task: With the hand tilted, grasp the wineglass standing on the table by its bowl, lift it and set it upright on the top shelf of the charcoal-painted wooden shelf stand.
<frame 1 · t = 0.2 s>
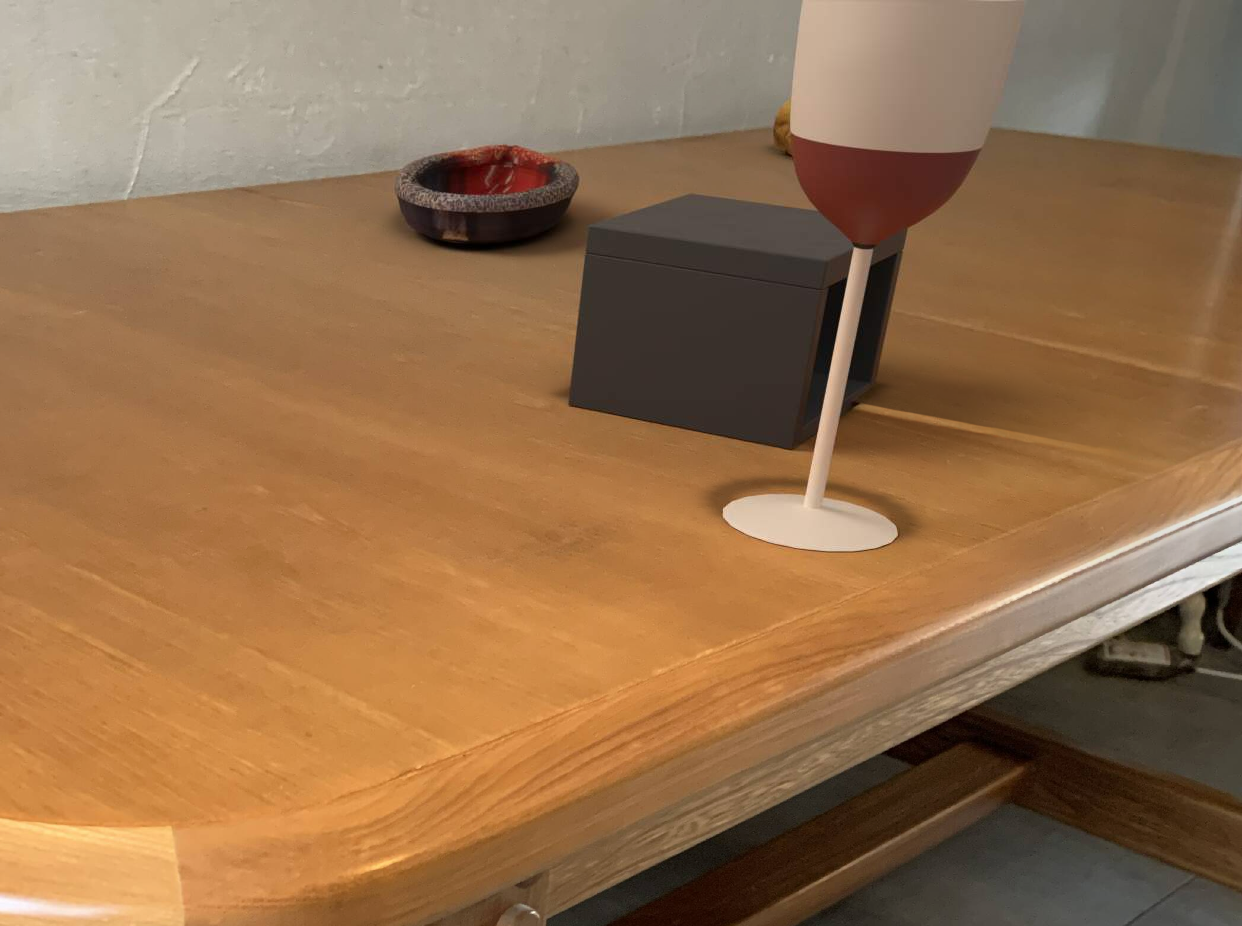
shelf: (724, 400, 103), on the table
wineglass: (808, 525, 84), on the table
dish: (485, 225, 149), on the table
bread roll: (808, 157, 194), on the table
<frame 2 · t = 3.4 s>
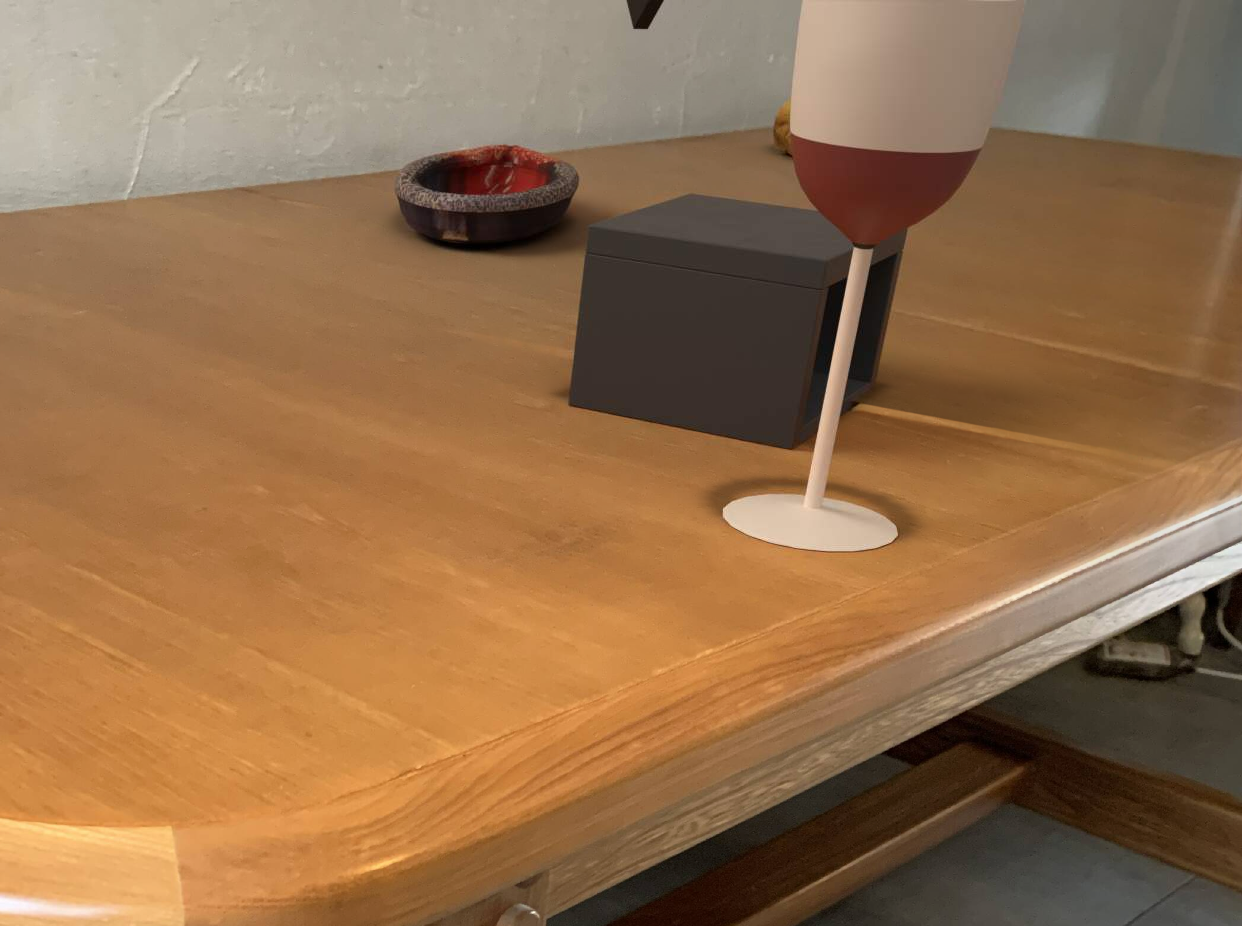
hand: (780, 12, 80), 21 cm above the table, tool tilted 45°, fingers open, 13 cm apart
nothing on the table moved.
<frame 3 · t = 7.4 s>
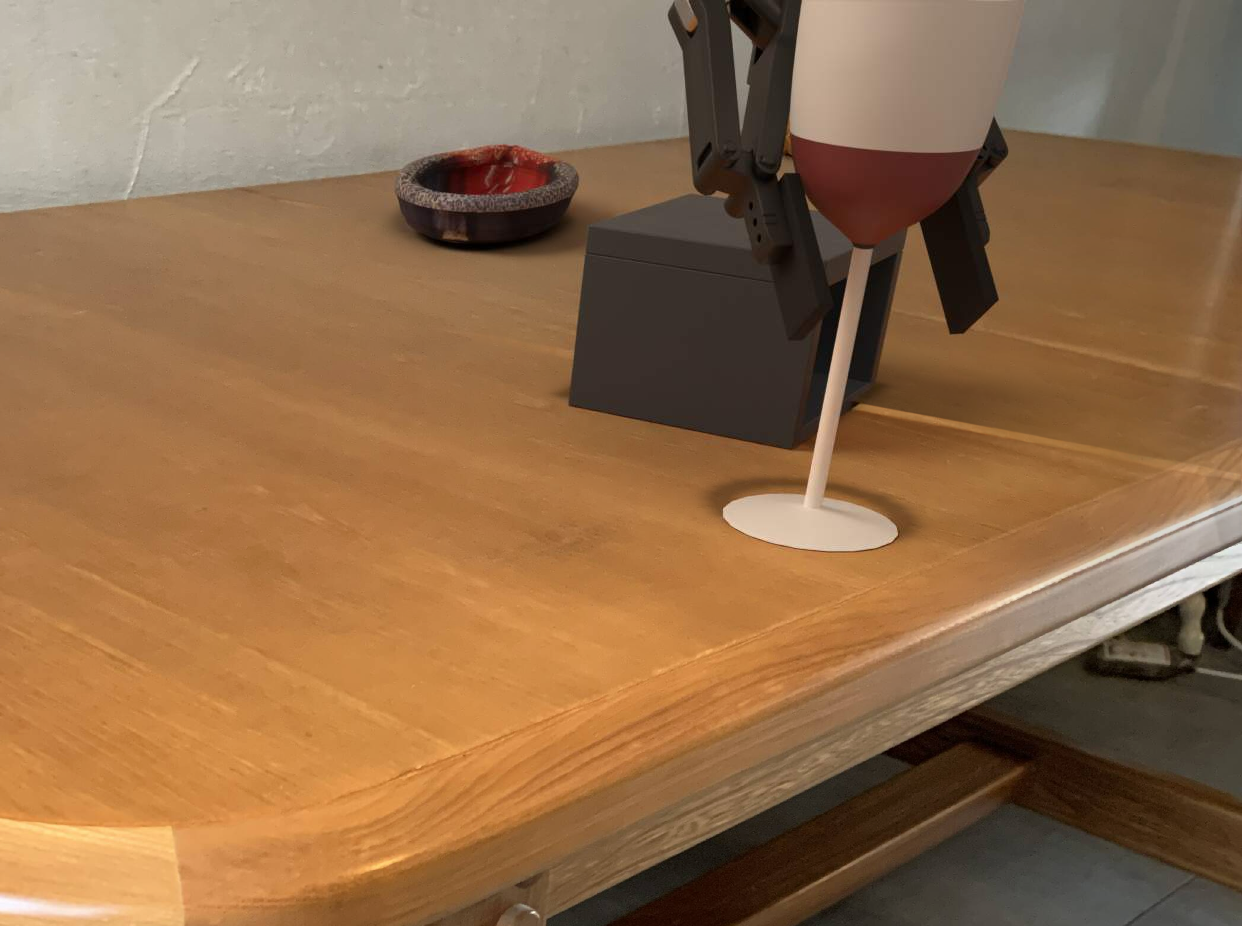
hand: (893, 319, 76), 10 cm above the table, tool tilted 45°, fingers closed on wineglass, 8 cm apart
wineglass: (808, 525, 84), on the table, touching gripper
everything else where it was.
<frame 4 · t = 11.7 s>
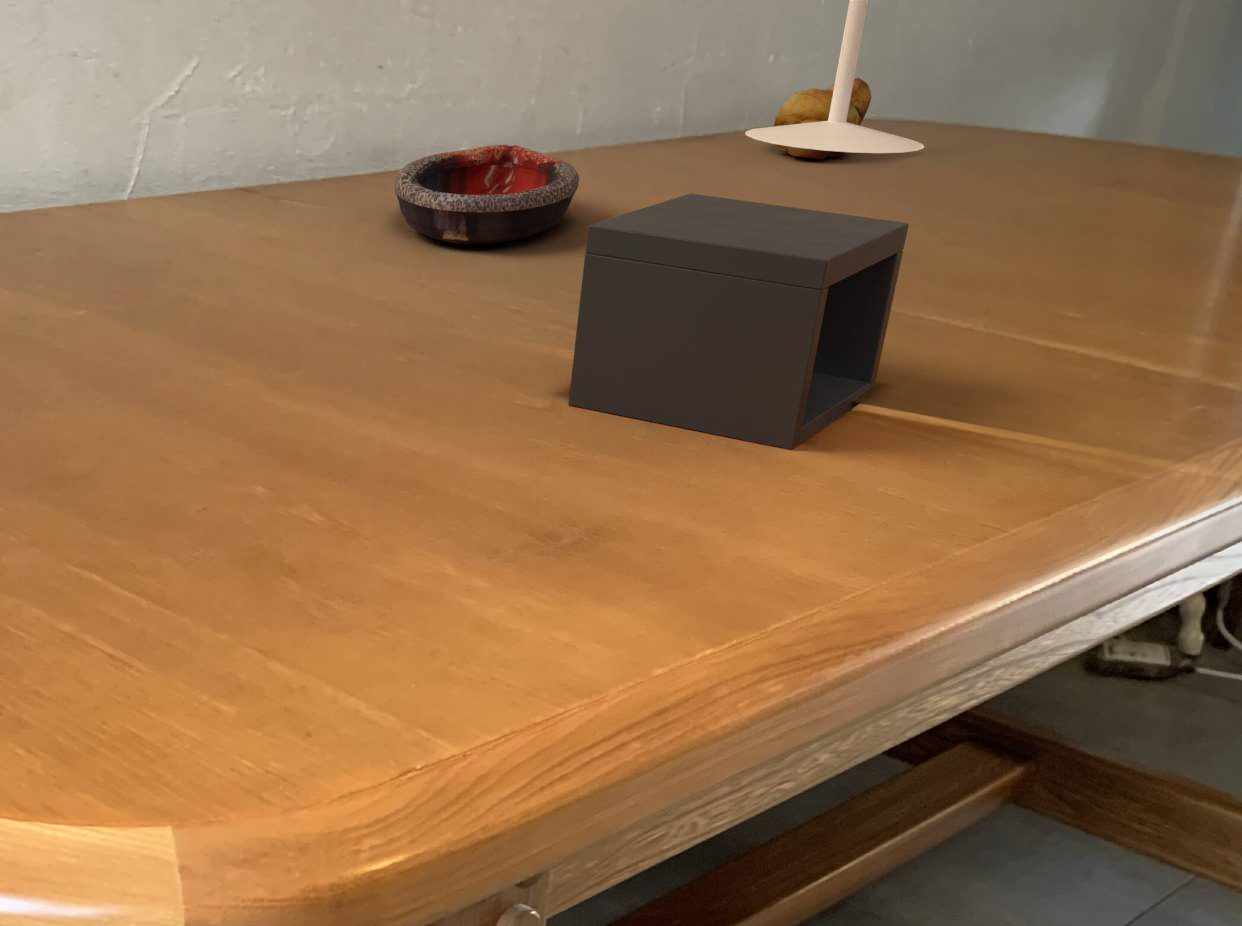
wineglass: (832, 144, 83), point 16 cm above the table, touching gripper
everything else where it was.
when the fingers open (20 cm above the table, at t = 16.0 s): wineglass stays where it is, resting on shelf.
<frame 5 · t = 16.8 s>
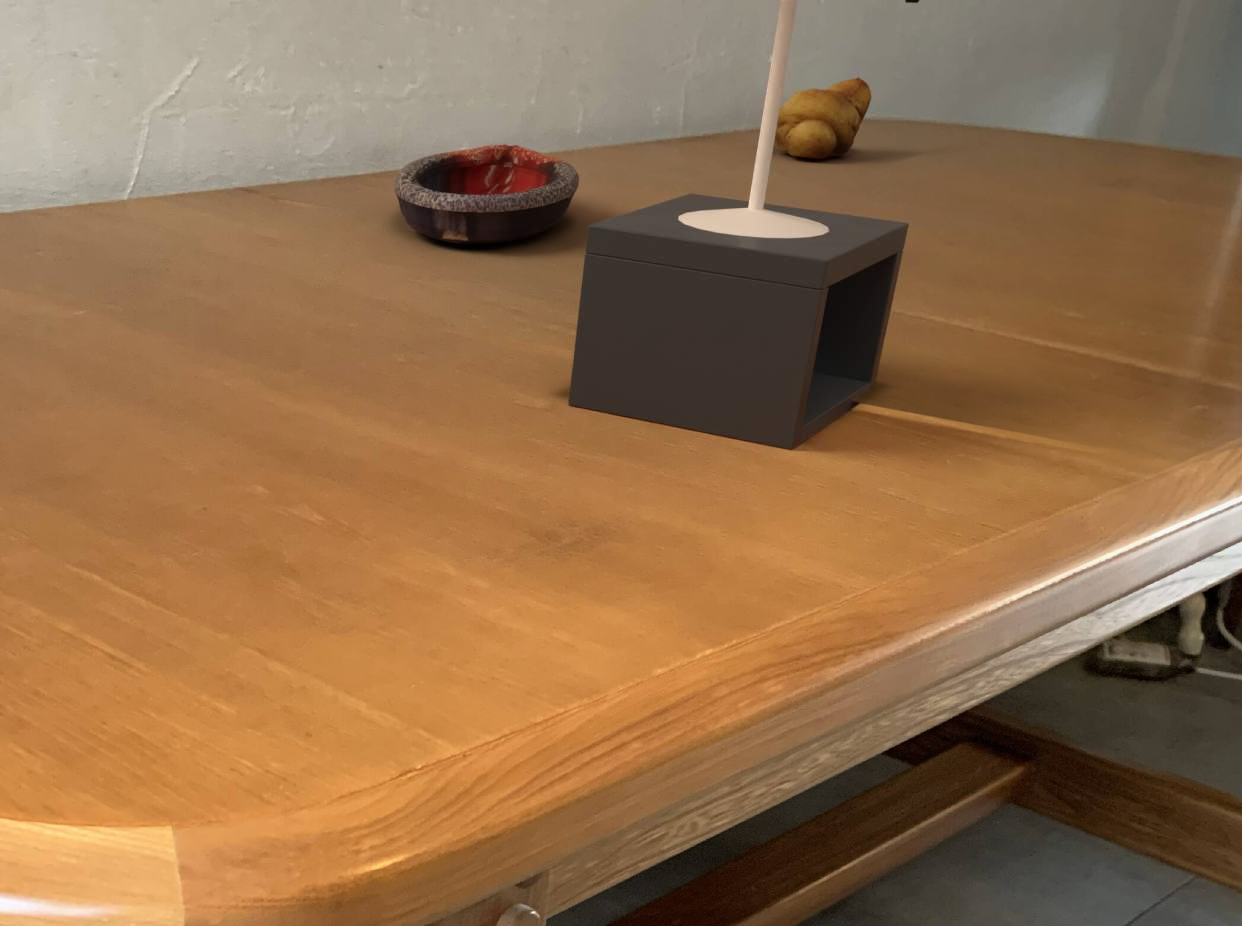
wineglass: (752, 227, 97), point 10 cm above the table, touching shelf
everything else where it was.
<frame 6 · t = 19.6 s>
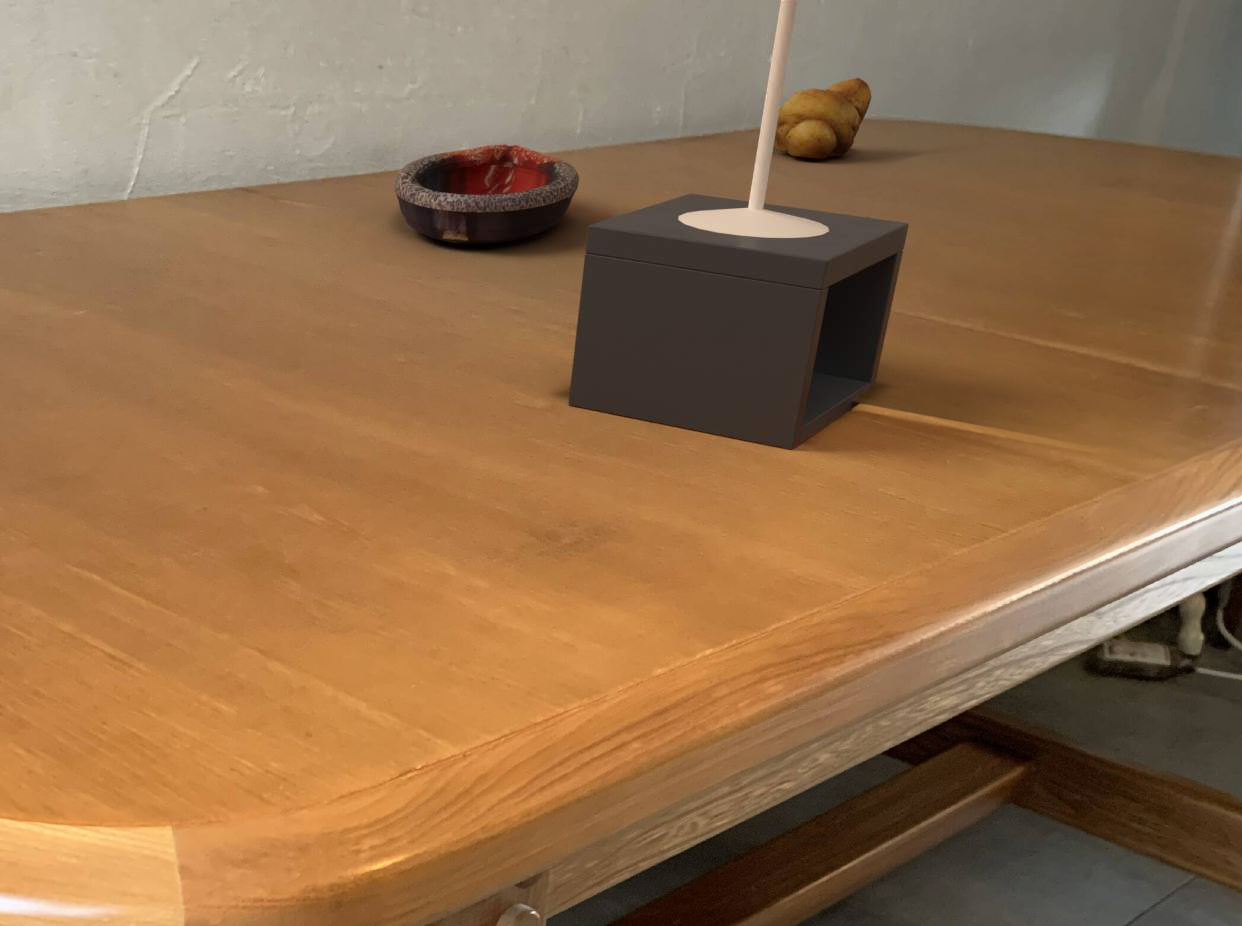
nothing on the table moved.
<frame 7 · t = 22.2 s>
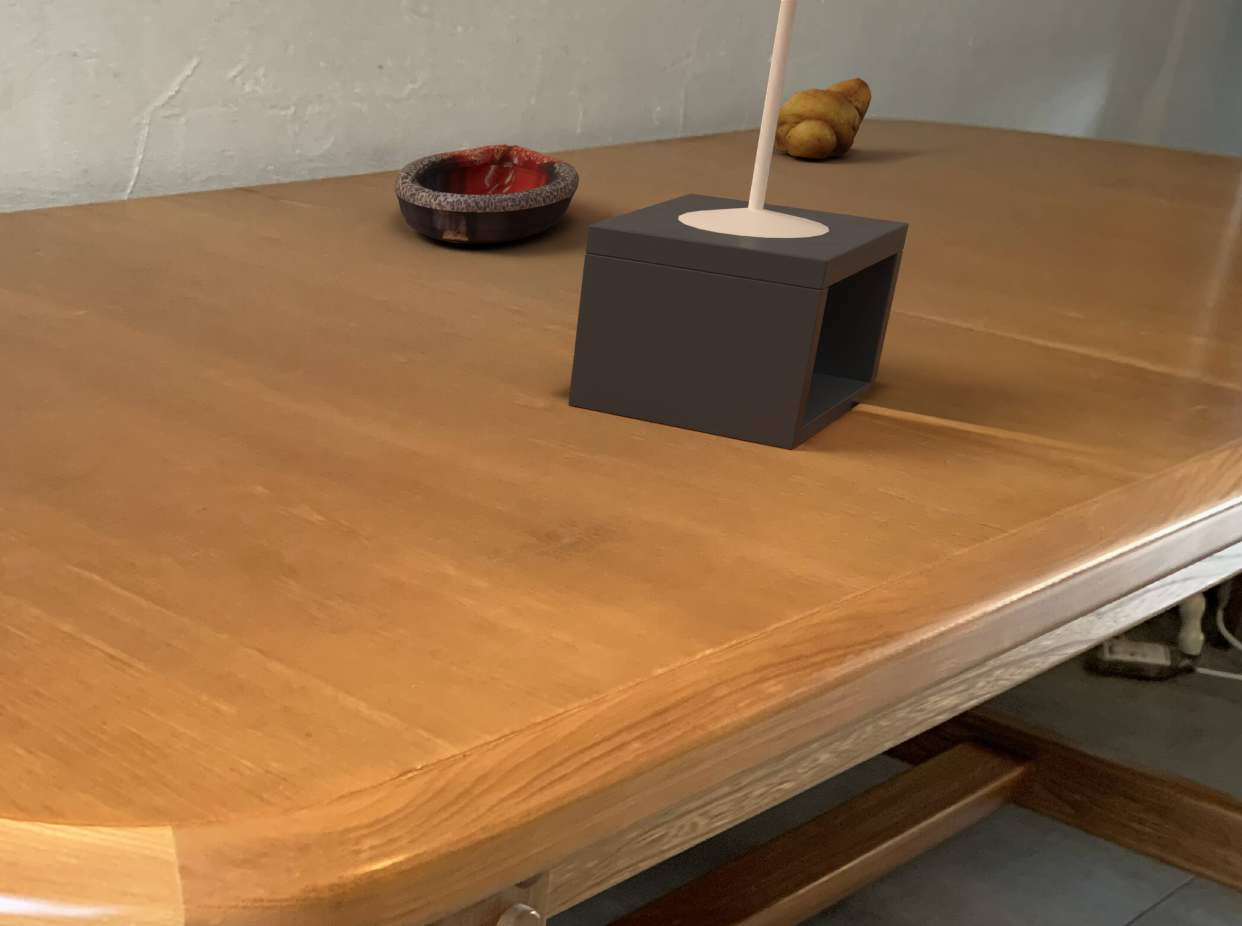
nothing on the table moved.
at the end: wineglass inside the target area on the shelf (0.0 cm from its centre), point 9.8 cm above the shelf's base; wineglass tilted 0°; the gripper is holding nothing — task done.
